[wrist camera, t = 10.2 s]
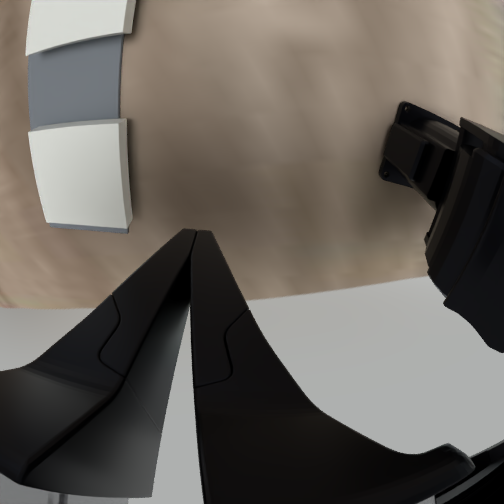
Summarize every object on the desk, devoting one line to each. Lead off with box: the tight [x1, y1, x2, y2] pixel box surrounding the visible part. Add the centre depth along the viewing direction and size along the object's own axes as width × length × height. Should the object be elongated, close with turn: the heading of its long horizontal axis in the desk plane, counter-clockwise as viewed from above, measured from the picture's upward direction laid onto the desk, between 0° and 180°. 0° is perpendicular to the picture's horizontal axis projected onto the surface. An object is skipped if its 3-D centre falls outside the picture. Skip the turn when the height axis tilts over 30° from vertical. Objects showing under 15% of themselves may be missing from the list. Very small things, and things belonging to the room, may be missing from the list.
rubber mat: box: [28, 34, 129, 234], centre depth 13 cm, size 9×27×1 cm, turn 172°
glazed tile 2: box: [28, 118, 133, 229], centre depth 17 cm, size 2×8×8 cm
